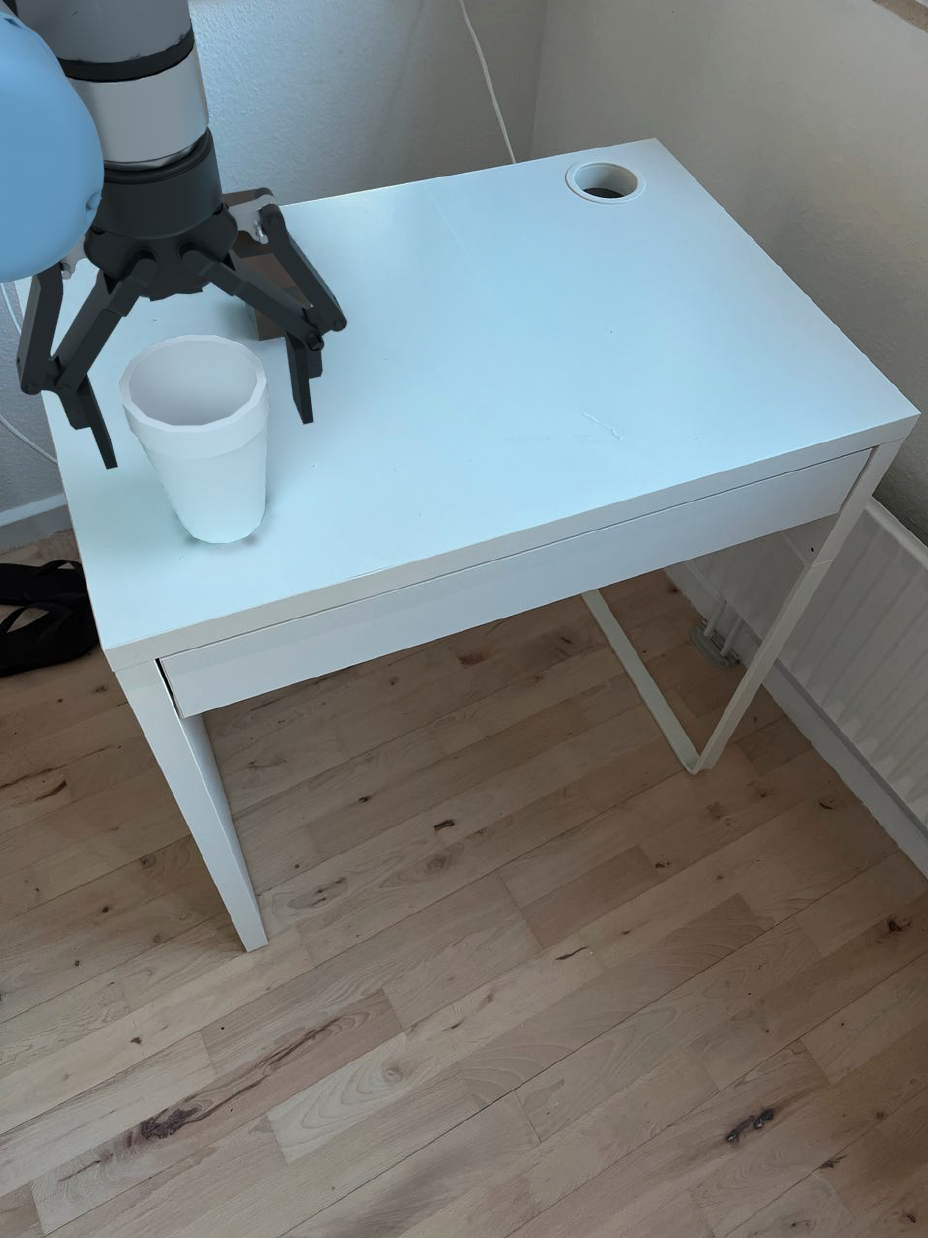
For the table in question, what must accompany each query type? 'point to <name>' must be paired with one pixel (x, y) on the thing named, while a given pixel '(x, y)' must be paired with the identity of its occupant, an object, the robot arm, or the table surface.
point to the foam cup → (203, 430)
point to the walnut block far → (244, 241)
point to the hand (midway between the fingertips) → (208, 432)
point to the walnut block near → (281, 278)
